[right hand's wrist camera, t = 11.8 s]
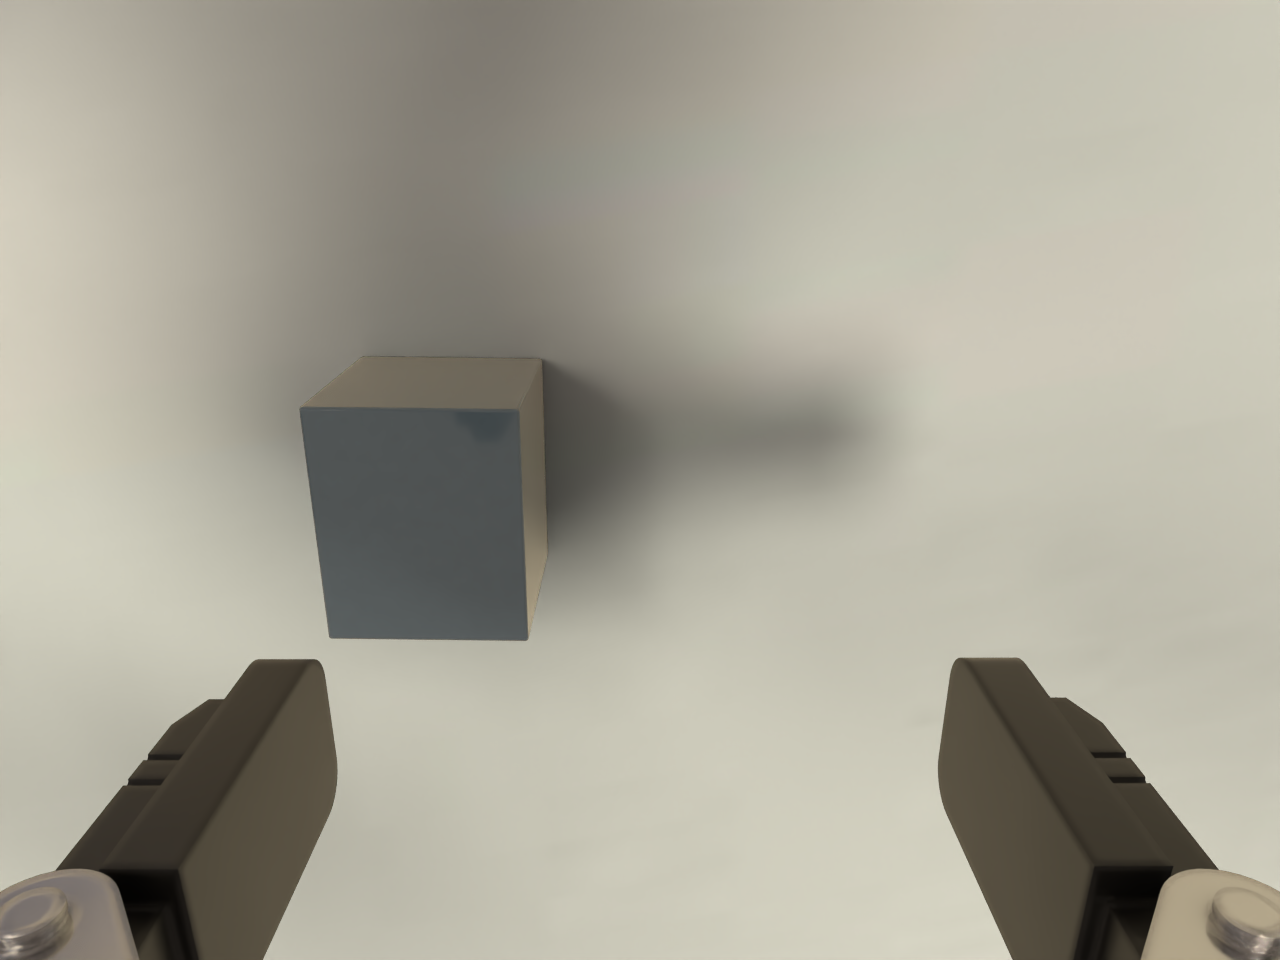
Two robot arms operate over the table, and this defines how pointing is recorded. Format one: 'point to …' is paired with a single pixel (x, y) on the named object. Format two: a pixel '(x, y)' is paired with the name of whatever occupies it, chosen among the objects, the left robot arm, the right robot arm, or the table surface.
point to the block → (429, 497)
